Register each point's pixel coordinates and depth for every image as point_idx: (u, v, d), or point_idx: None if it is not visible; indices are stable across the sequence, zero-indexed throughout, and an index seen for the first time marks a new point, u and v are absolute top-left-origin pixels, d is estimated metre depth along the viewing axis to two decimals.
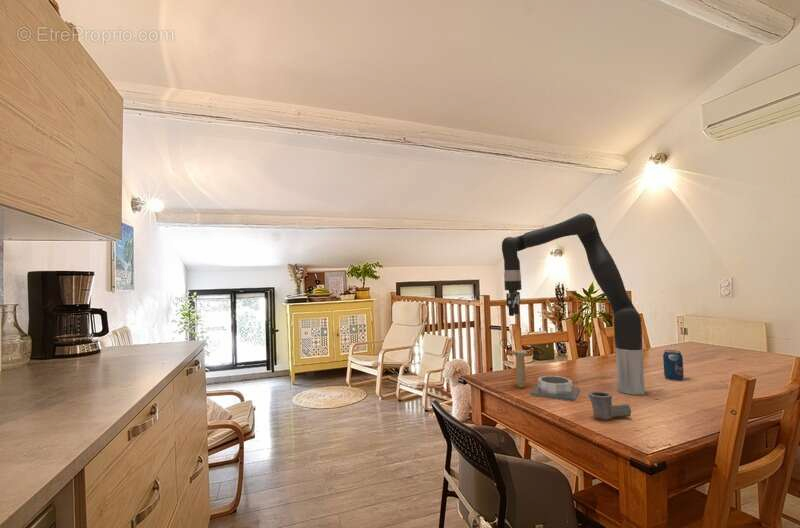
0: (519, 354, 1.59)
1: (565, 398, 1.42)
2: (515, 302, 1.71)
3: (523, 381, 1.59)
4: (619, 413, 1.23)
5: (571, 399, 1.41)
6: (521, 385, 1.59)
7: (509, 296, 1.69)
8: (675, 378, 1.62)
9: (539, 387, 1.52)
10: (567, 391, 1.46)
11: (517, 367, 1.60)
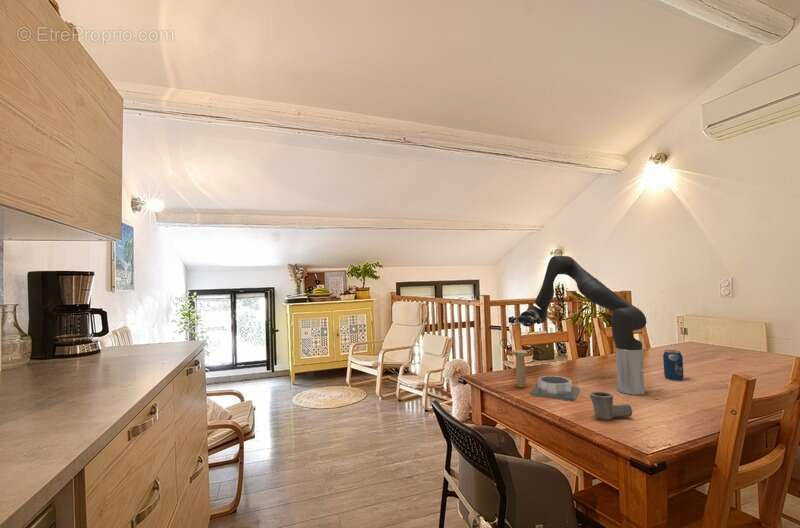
0: (519, 354, 1.59)
1: (565, 398, 1.42)
2: (517, 316, 1.79)
3: (523, 381, 1.59)
4: (620, 413, 1.23)
5: (571, 399, 1.41)
6: (521, 385, 1.59)
7: None
8: (675, 378, 1.62)
9: (539, 387, 1.52)
10: (567, 391, 1.46)
11: (518, 367, 1.60)
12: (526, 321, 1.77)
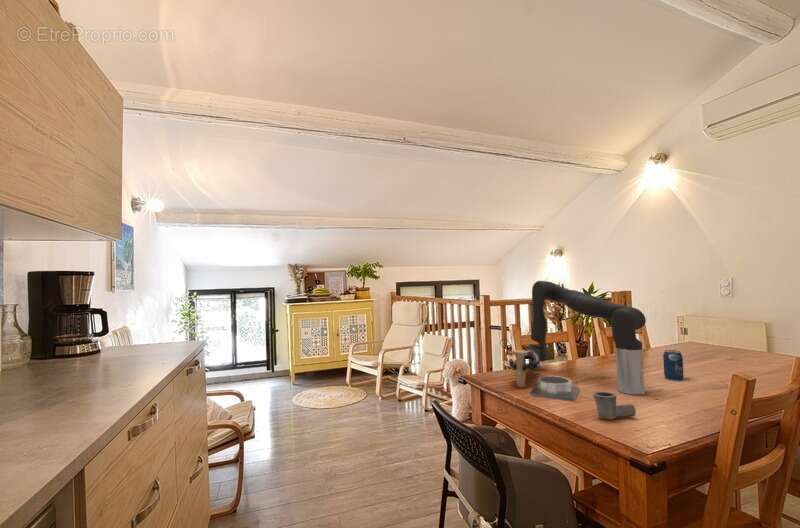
0: (519, 354, 1.59)
1: (565, 398, 1.42)
2: None
3: (523, 381, 1.59)
4: (624, 413, 1.22)
5: (571, 399, 1.41)
6: (521, 385, 1.59)
7: (509, 362, 1.69)
8: (675, 378, 1.62)
9: (539, 387, 1.52)
10: (567, 391, 1.46)
11: (518, 367, 1.60)
12: None
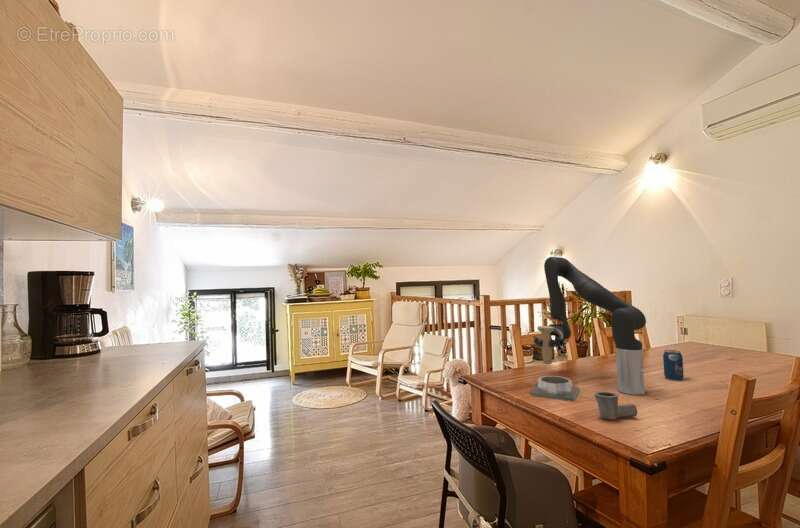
0: (545, 329, 1.52)
1: (565, 398, 1.42)
2: None
3: (550, 358, 1.52)
4: (625, 413, 1.22)
5: (571, 399, 1.41)
6: (548, 362, 1.52)
7: (533, 339, 1.62)
8: (675, 378, 1.62)
9: (539, 387, 1.52)
10: (567, 391, 1.46)
11: (544, 344, 1.53)
12: None
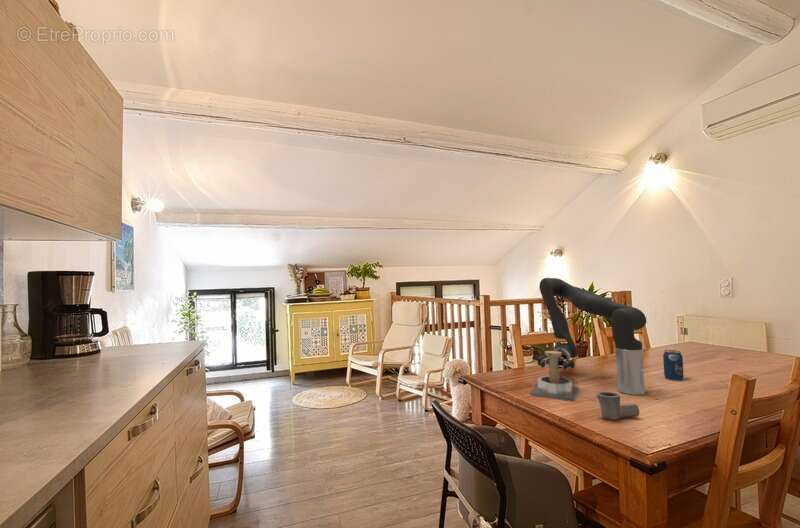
0: (553, 355, 1.50)
1: (565, 398, 1.42)
2: (547, 358, 1.57)
3: None
4: (627, 413, 1.22)
5: (571, 399, 1.41)
6: None
7: None
8: (675, 378, 1.62)
9: (539, 387, 1.52)
10: (567, 391, 1.46)
11: (551, 369, 1.51)
12: (558, 364, 1.55)
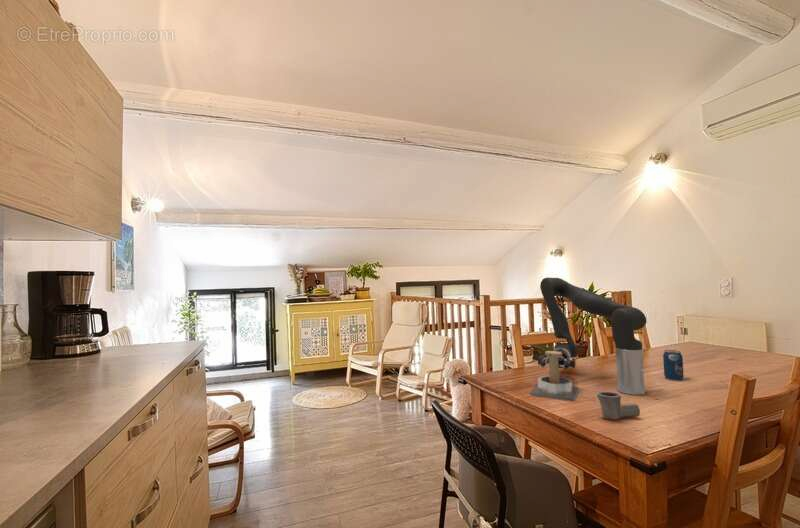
0: (553, 355, 1.50)
1: (565, 398, 1.42)
2: (548, 357, 1.58)
3: None
4: (628, 413, 1.22)
5: (571, 399, 1.41)
6: None
7: None
8: (675, 378, 1.62)
9: (539, 387, 1.52)
10: (567, 391, 1.46)
11: (551, 369, 1.51)
12: None
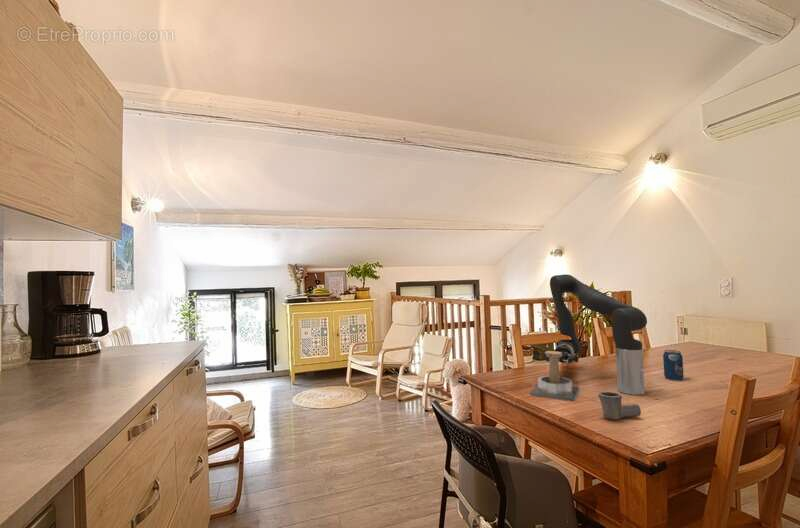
0: (553, 355, 1.50)
1: (565, 398, 1.42)
2: None
3: None
4: (629, 413, 1.22)
5: (571, 399, 1.41)
6: None
7: None
8: (675, 378, 1.62)
9: (539, 387, 1.52)
10: (567, 391, 1.46)
11: (552, 369, 1.51)
12: (562, 358, 1.65)
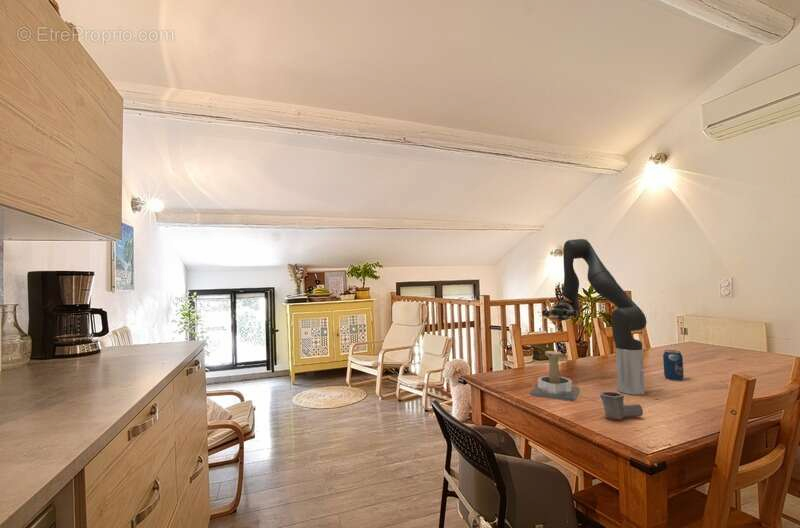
0: (553, 355, 1.50)
1: (565, 398, 1.42)
2: (551, 309, 1.70)
3: None
4: (631, 413, 1.22)
5: (571, 399, 1.41)
6: None
7: None
8: (675, 378, 1.62)
9: (539, 387, 1.52)
10: (567, 391, 1.46)
11: (551, 369, 1.51)
12: (561, 314, 1.68)
